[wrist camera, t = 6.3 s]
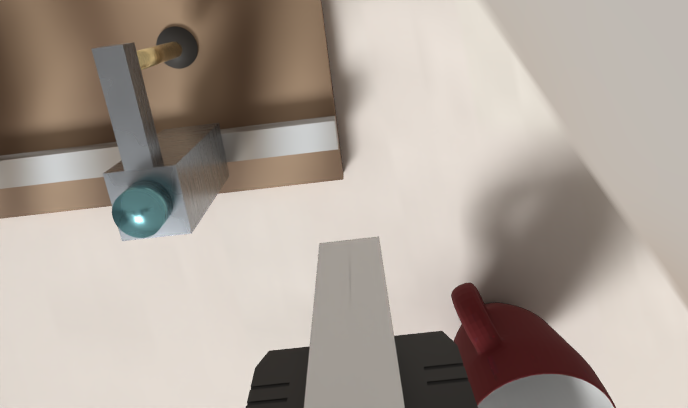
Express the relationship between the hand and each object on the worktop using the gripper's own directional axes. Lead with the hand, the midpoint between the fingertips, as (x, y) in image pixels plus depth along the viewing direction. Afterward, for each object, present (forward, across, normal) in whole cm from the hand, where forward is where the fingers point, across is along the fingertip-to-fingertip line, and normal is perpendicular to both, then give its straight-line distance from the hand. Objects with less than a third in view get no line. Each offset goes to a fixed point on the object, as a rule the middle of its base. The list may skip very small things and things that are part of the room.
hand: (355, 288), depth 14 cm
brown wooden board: (+20, -14, +3) cm, 24 cm away
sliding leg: (+17, -8, +2) cm, 19 cm away
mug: (+20, +7, -14) cm, 25 cm away
